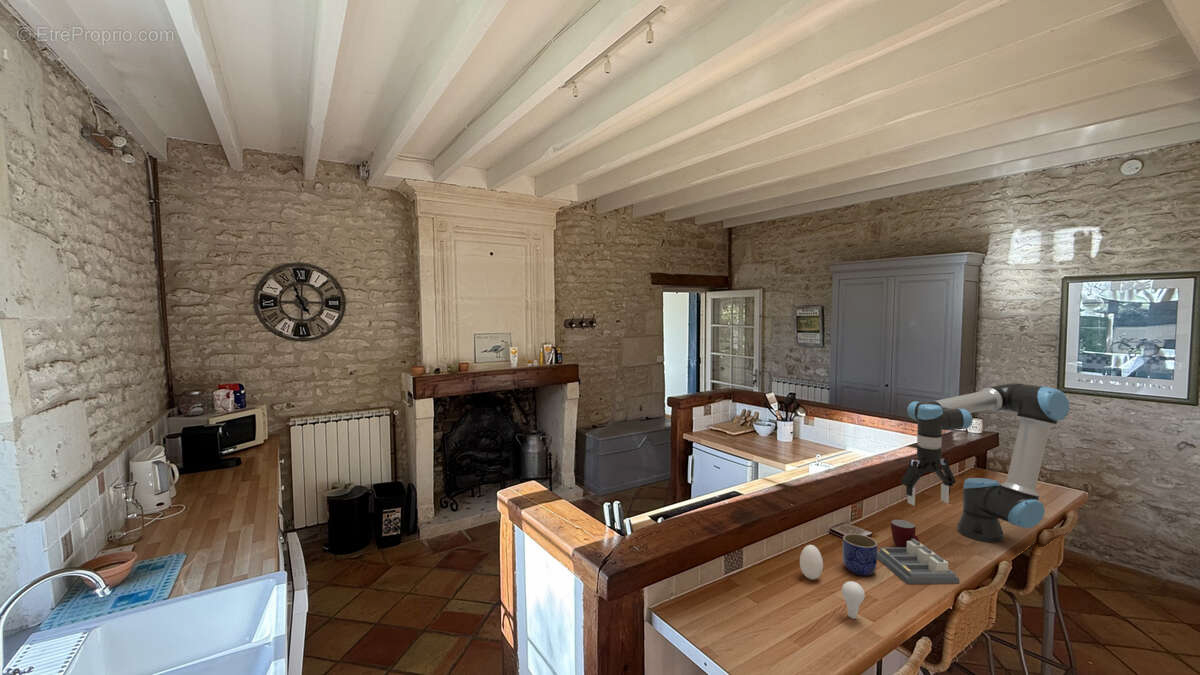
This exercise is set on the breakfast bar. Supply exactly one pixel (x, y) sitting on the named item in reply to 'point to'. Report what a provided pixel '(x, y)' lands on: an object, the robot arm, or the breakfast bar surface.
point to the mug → (902, 532)
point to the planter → (859, 553)
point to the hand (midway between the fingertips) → (927, 502)
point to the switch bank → (913, 568)
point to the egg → (811, 562)
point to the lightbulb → (853, 597)
